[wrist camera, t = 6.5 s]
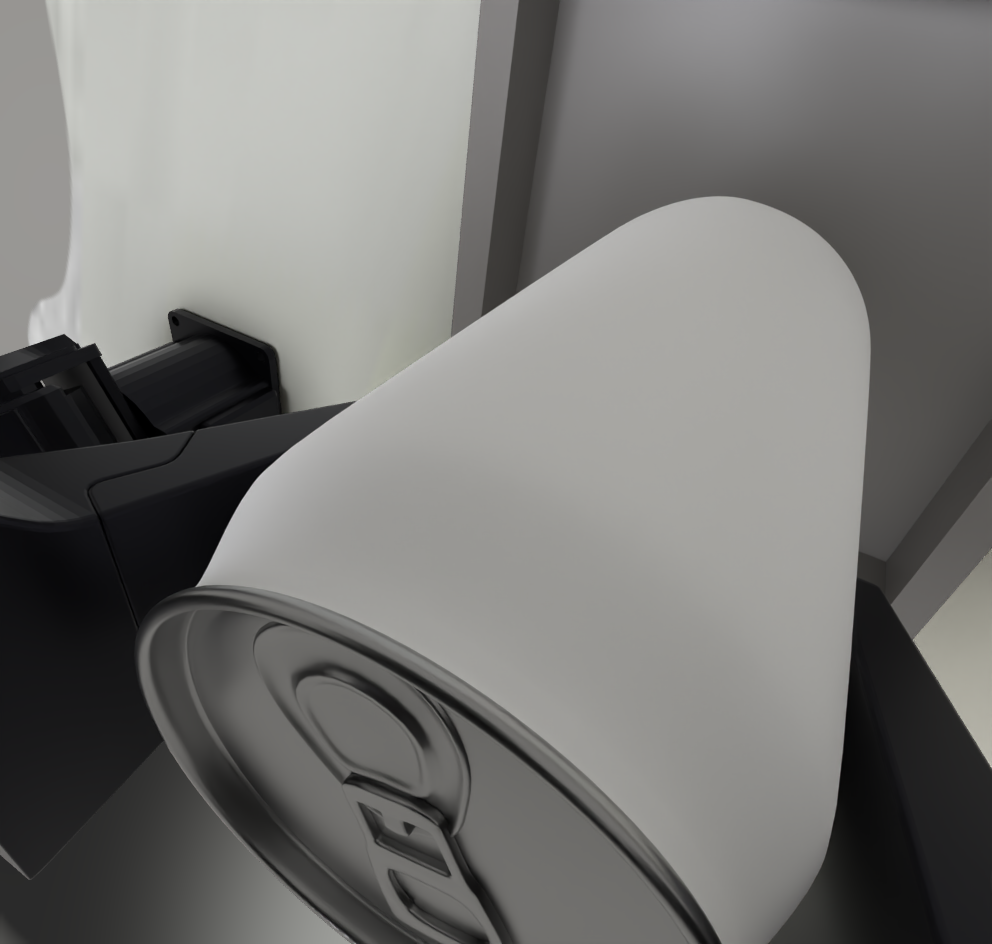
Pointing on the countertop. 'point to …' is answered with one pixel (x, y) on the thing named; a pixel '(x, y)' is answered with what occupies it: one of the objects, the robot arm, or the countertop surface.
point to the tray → (775, 203)
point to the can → (553, 608)
